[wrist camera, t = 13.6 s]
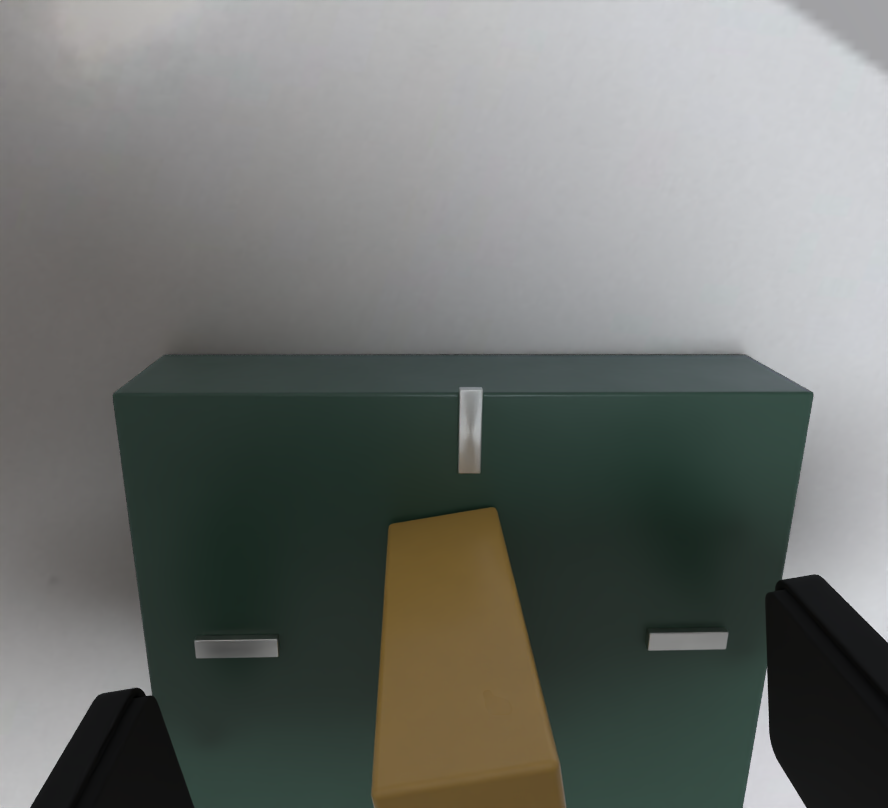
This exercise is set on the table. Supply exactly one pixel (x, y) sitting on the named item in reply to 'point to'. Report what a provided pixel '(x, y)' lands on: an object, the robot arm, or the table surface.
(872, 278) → the table surface
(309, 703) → the green block
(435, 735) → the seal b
